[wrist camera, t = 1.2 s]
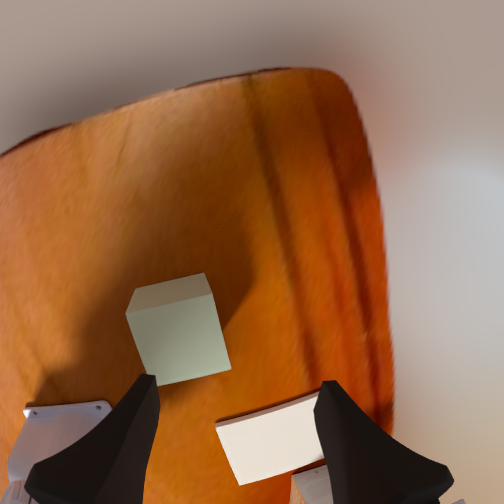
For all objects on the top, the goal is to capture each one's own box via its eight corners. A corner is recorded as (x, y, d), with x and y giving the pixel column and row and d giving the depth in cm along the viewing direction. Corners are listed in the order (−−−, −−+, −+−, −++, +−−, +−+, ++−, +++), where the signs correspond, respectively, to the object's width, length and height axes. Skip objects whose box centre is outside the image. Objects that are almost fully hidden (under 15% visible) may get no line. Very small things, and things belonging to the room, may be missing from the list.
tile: (238, 481, 26) (239, 485, 25) (214, 423, 24) (215, 427, 23) (324, 453, 28) (326, 456, 27) (320, 390, 26) (323, 394, 25)
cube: (155, 349, 21) (152, 387, 17) (135, 288, 20) (125, 313, 15) (219, 335, 22) (231, 369, 18) (203, 272, 21) (212, 293, 16)
